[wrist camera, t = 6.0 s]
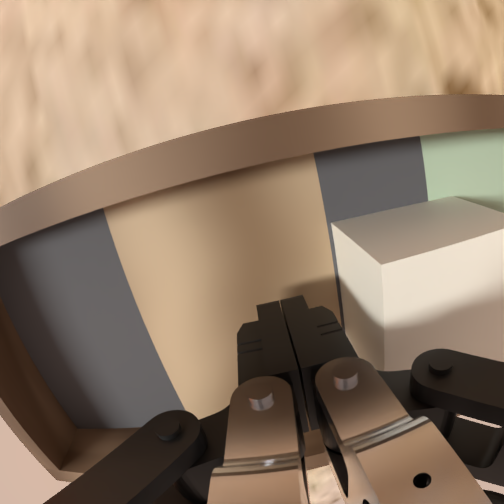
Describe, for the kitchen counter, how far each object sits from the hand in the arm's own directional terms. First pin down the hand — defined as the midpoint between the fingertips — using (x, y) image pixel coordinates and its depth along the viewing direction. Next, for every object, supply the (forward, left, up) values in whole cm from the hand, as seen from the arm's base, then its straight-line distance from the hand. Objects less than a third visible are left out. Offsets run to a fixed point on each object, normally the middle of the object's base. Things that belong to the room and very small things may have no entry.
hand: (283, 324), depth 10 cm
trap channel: (0, +1, -2) cm, 2 cm away
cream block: (+3, +4, -1) cm, 5 cm away
